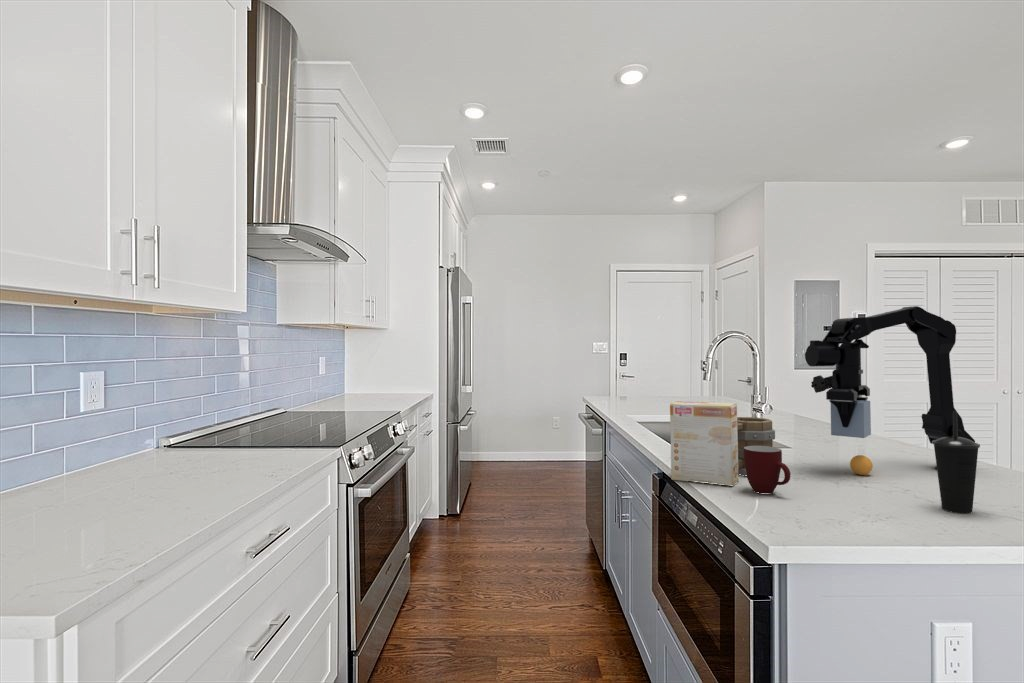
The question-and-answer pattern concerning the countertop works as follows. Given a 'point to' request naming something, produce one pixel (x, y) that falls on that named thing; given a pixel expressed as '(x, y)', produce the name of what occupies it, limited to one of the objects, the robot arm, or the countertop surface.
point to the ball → (861, 465)
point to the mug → (764, 468)
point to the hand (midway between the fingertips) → (849, 425)
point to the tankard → (752, 436)
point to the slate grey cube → (853, 421)
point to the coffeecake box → (704, 442)
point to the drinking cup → (956, 470)
